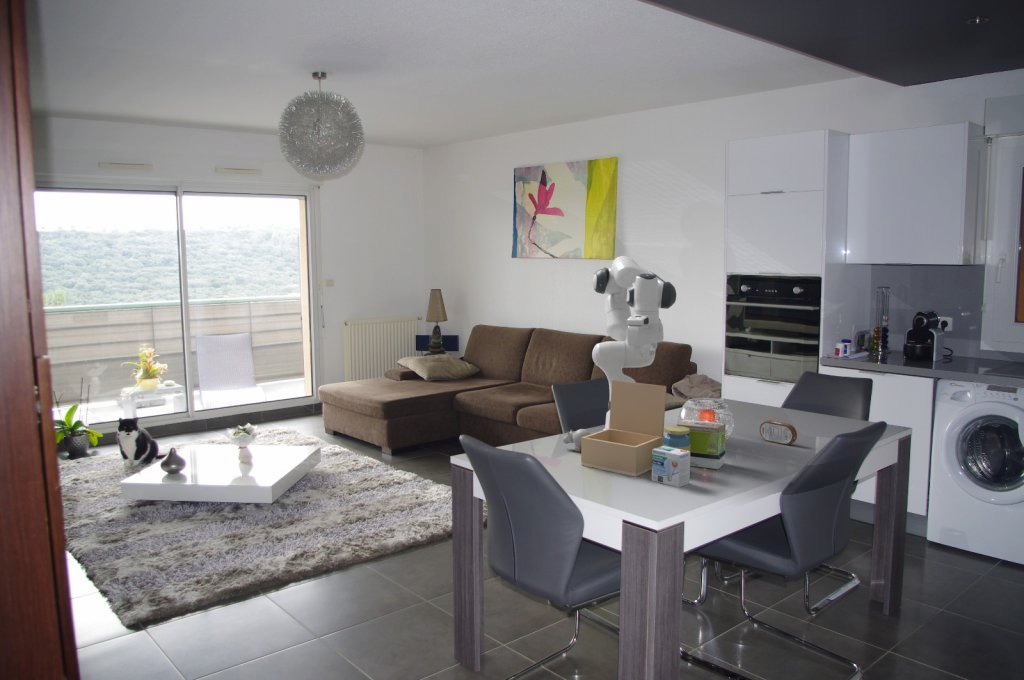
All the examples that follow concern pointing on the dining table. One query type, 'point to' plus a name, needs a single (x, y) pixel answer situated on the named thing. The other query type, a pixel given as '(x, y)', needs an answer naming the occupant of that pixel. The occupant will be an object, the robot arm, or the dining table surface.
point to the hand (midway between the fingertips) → (645, 356)
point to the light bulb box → (671, 466)
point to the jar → (677, 437)
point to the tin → (778, 432)
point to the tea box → (706, 443)
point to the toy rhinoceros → (575, 438)
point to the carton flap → (637, 408)
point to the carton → (619, 451)
